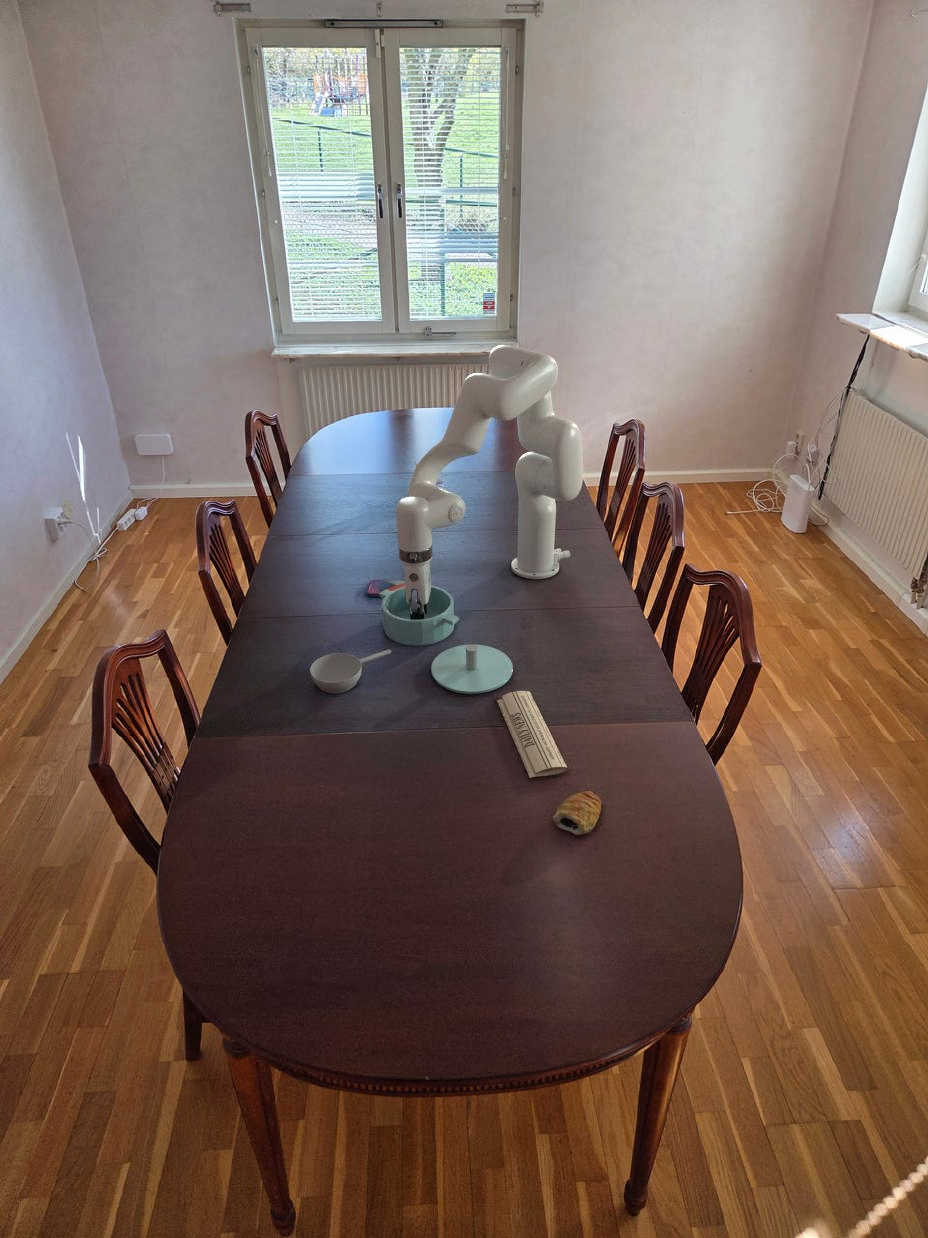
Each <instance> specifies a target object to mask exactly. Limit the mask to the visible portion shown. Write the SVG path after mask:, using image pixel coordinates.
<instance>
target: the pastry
mask: <svg viewBox="0 0 928 1238" xmlns="http://www.w3.org/2000/svg"><path fill="white" fill-rule="evenodd" d="M601 810H602V800H601V798H600V797H599V796H598V795H597V794H595V793H594V792H592V791H591V790H587V791H586V790H585V791H581V792H576V793H575V794H571V795H570V796H569V798H566V799H565V800H564V801H563V803H561V804H559V805H558V806H557V809H556V812H555V814H554V815H553V816H552V821H553V823H554V824H555V825H556V827H558V828H559V829H562V830H564V831H567V832H570V833H572V834H574V835H576V836H583V835H586V834H589V833H591V832H592V830H594V828H595V826H596V824H597V822H598V820H599V817H600V814H601Z"/></svg>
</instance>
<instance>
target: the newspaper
mask: <svg viewBox="0 0 928 1238" xmlns="http://www.w3.org/2000/svg"><path fill="white" fill-rule="evenodd" d="M496 703H497V705H498V708H499V709H500V712H501V714H502V716H503V719H504V721H505V723H506V725H507V728H508V731H509V732H510V735H511V738H512V739H513V742H514V744H515V746H516V749H517V751H518V753H519V756H520V758H521V760H522V763H523V765H524V767H525V770H526V772H527V774H528V777H529V778H530V779H531V778H536V777H546V776H552V775H553V776H554V775H558V774H562V773H565V772H566V771H567V770H568V765H567V763H566V762H565V760H564V758H563V756H562V754H561V751H560V750H559V748H558V746H557V744H556V742H555V740H554V738H553V736H552V734H551V732H550V729H549V728H548V725H547V723H546V722H545V720H544V718H543V715H542V714H541V712H540V709H539V707H538V705H537V703H536V701H535V699H534V697H533V695H532V693H531V691H528V690H516V691H511V692H508V693H504V695H502V696H501V699H497V700H496Z"/></svg>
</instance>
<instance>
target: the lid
mask: <svg viewBox="0 0 928 1238" xmlns="http://www.w3.org/2000/svg"><path fill="white" fill-rule="evenodd" d="M430 671H431V676H432V678H433V680H434V681H435V682H436V683H437V684H438V685H439V686H441V687H442V688H444V689H446V690H449V691H451V692H455V693H459V694H467V695H475V694H483V693H484V694H485V693H489V692H492V691H495V690H497V689H499V688H502V687H503V686H504V685H505V684H506V683H508V682H509V680H510V679H511V678H512V675H513V671H514V665H513V662H512V660H511V659H510V657H509V656H508V655H507V654H505V652H503V651H501V650H500V649H497V648H495V647H492V646H489V645H484V644H473V643H472V644H471V643H470V644H462V645H461V644H460V645H457V646H453V647H450V648H447V649H446V650H443V651H442V652H440V653H439V654H438V655H437V656H435V658H434V659H433V661H432V663H431V667H430Z"/></svg>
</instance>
